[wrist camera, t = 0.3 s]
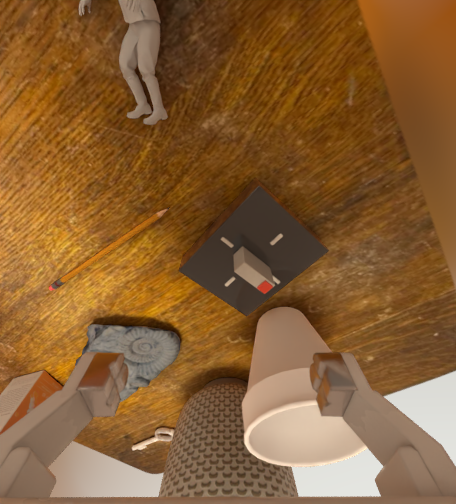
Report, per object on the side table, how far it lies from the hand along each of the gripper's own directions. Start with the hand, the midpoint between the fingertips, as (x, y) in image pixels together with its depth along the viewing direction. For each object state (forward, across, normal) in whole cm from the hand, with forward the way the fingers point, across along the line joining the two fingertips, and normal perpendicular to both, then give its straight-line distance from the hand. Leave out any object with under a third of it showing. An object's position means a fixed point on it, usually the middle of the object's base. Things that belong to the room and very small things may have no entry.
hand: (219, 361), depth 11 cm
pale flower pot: (+18, -8, +16) cm, 25 cm away
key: (+18, +15, +48) cm, 54 cm away
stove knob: (+14, -3, +4) cm, 15 cm away
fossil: (+18, +15, +21) cm, 32 cm away
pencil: (+18, +13, +4) cm, 22 cm away
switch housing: (+18, -3, +4) cm, 18 cm away
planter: (+18, -1, +32) cm, 37 cm away
